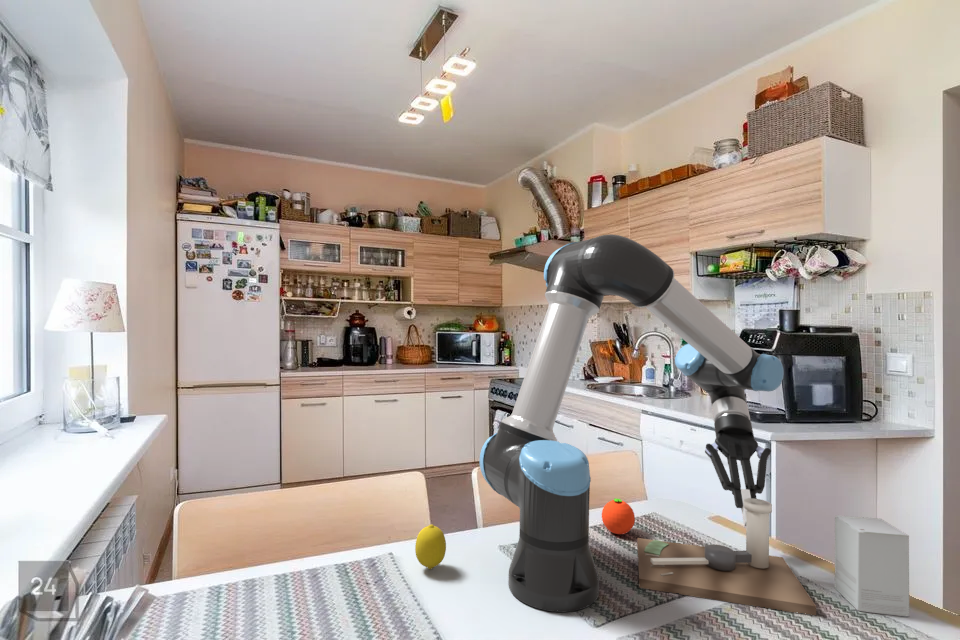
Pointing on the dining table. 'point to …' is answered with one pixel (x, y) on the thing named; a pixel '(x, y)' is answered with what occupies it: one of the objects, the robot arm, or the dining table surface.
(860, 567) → the supplement box
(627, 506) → the clementine
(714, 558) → the knobbed stick and post
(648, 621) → the dining table surface
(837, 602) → the dining table surface
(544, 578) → the robot arm
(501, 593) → the dining table surface
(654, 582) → the brown wooden board
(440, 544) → the lemon
